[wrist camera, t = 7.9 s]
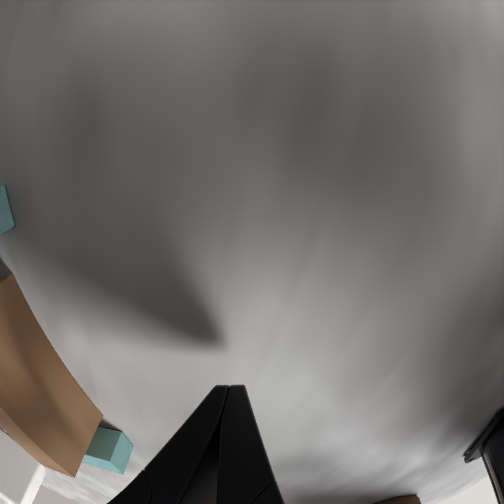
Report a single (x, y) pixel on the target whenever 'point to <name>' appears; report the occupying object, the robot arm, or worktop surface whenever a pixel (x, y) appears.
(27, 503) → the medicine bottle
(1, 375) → the t block
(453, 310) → the worktop surface
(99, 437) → the jig
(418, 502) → the beer bottle
